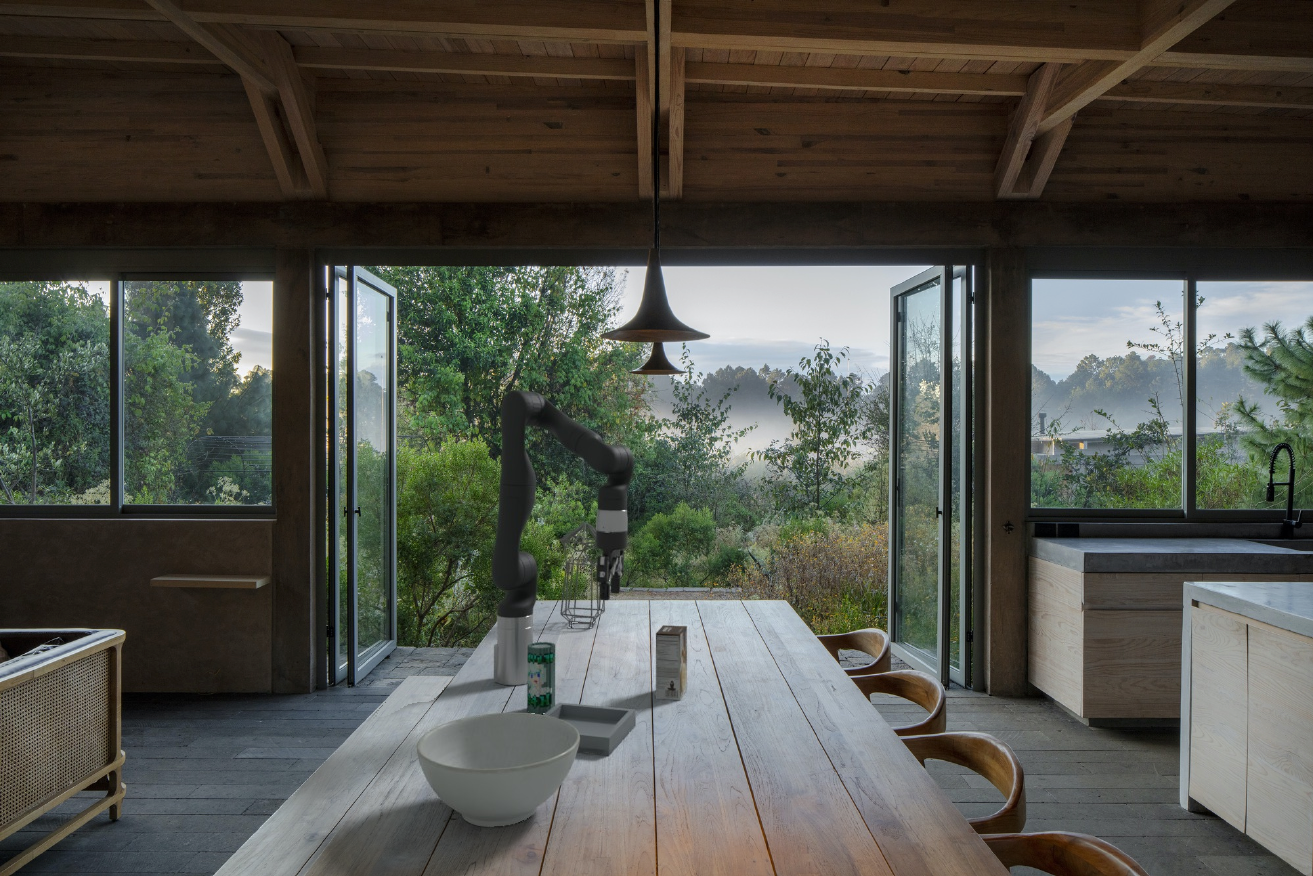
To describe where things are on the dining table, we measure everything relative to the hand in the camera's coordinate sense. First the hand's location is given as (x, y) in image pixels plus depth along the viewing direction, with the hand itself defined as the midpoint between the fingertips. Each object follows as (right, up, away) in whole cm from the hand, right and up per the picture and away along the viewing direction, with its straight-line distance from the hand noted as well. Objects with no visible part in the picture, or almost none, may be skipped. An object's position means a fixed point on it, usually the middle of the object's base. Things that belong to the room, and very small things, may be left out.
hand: (610, 596), depth 195 cm
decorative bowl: (-15, -25, -58) cm, 65 cm away
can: (-16, -25, -6) cm, 30 cm away
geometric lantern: (-13, -26, +82) cm, 87 cm away
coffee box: (+15, -26, +6) cm, 30 cm away
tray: (-5, -25, -23) cm, 34 cm away
